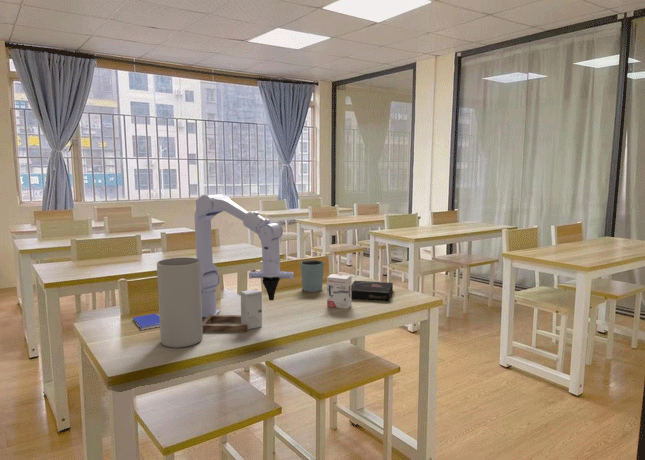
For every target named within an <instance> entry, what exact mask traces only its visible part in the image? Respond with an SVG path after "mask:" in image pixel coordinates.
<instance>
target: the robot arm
mask: <svg viewBox="0 0 645 460" xmlns="http://www.w3.org/2000/svg"><path fill="white" fill-rule="evenodd" d="M195 208H196V209H195V212H194V230H195V231H194V232H195V234H194V235H195V251H196V259H199V260H200V275H201V301H202V318H207V317H208V316H209V315H219V312H221V310H220V309H217V289H218V286H219V284H220V282H221V277H220V274H219V271H218V270H219V269H218V267H217V265H215V264H214V262H213V261H214V259H213V242H212V241H213V240H212V223H211V222H212V219H214V218H215V216H217V215H218V214H220V213H223V212H226V213H228V214H230V215H232V216H233V217H235V218H237V219H239V220H241V221H242V224H243V226H244V227H245V228H247V229H248V230H250V231H252V232H253V233H254V234H257V235H258V239H259V240H260V244H261V259H262V260H261V261H262V262H261V263H262V269H261V271H260V270H259V271H249V272H248V279H250V280H251V279H262V280H261V282H262V283H263V284H262V285H263V286H264V288H265V290H266V292H267V296H268V301H274V299H275V294H276V292H277V291H276V290H277V287H278V286H279V285H278V284H279V282H280V280H281V279H284V280H285V279H289V280H293V279H294V272H293V271H283V270H281V264H280V263H281V260H280V258H281V254H280V253H281V252H280V251H281V250H280V247H281V245H280V244H281V243H280V238H282V236H283V233H284V230H283V227H282V225H281V224H280V223H279V222H277V221H270V220H271V219H269V218H265V217H263V216H262V215H260V212H258V211H247V209H245V208H243V207H242V206H241V205H239V204H237V203H236V202H234V201H233V200H231V197H229V195H228V196H227V195H226V194H225V193H222V192H221V193H214V194H202V195H200V196H199V197H198V198H197V199H196V200H195Z"/></svg>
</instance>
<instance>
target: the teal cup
mask: <svg viewBox="0 0 645 460" xmlns="http://www.w3.org/2000/svg"><path fill="white" fill-rule="evenodd" d="M324 268H325V261H322V260H315V259H314V260H310V259H308V260H304V261H301V262H300V271H301V274H300V275H301V285H302V286H301V287H302V288H301V289H302V291H303V290H304V292H306V291H308V292H307V293H317V292H316V291H318V292H321V291H322V290H323V281H324V279H323V278H324ZM320 290H321V291H320Z"/></svg>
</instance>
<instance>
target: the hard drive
mask: <svg viewBox="0 0 645 460" xmlns="http://www.w3.org/2000/svg"><path fill="white" fill-rule="evenodd" d="M133 320H134V321H135V322H136V323H135V322H134V321H133ZM132 321H133V322H134V323H135V324H136V325H137V327H138V328H139V327H140V328H141V329H140V328H139V329H140V330H141V331H145V330H144V329H146V330H151V329H156V328H155V327H157V328H160V317H159V314H157V313H151V314H146V315H141V316H140V315H139V316H134V317H133V318H132ZM150 328H151V329H150Z"/></svg>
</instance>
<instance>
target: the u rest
mask: <svg viewBox="0 0 645 460" xmlns="http://www.w3.org/2000/svg"><path fill="white" fill-rule="evenodd" d="M212 322H213V323H212ZM214 322H215V323H214ZM229 323H230V324H229ZM231 323H233V324H231ZM234 323H238V324H234ZM239 323H240V324H239ZM202 328H203V332H217V333H219V332H220V333H222V332H224V333H225V332H226V333H227V332H229V333H247V332H248V330H249V329H248V325H242V324H241V314H217V315H209V316H208V317H205V319H204V320H202Z"/></svg>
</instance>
